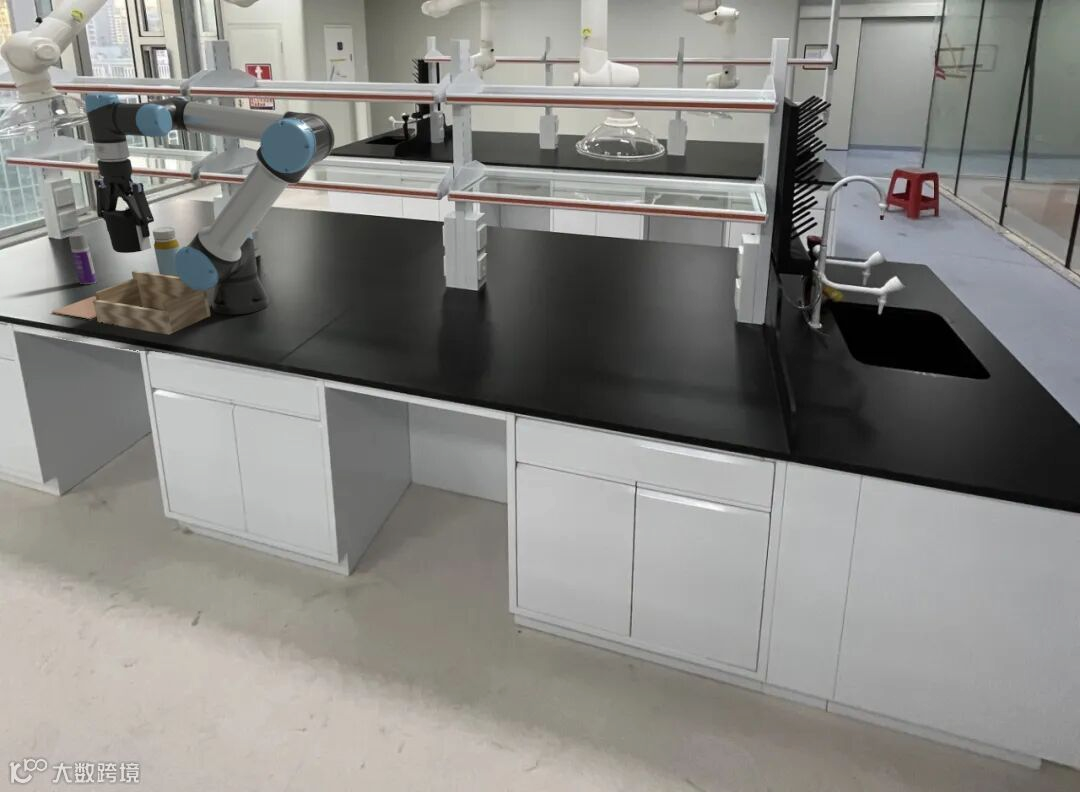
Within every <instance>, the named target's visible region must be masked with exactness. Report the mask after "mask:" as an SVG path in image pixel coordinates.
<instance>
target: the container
mask: <svg viewBox="0 0 1080 792" xmlns="http://www.w3.org/2000/svg"><path fill="white" fill-rule="evenodd" d="M68 239H69V245H70V248H71V255H72V258H73V262H74V265H75V268H76V273H77V278H78V280H79V284H80V285H81V284H85V285H84V286H87V285H86V284H91V285H94V284H93V283H95V284H96V282H97V283H98V279H97V275H96V272H95V267H94V264H93V259H92V253H91V251H90V247H89V243H88V239H87V236H86V233H85V232H73V233H69V234H68Z"/></svg>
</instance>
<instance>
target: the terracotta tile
mask: <svg viewBox="0 0 1080 792" xmlns="http://www.w3.org/2000/svg"><path fill="white" fill-rule="evenodd" d="M94 300H96V296H94V295H93V296H91V297H88V298H85V299H81V300H80V301H77V302H74V303H71V304H68V305H66V306H63V307H59V308H57V309H55V310H52V311H51V314H53V313H56V314H55V315H58V314H63V315H62V316H64V315H70V316H76V317H82V318H86V319H92V318H95V317H97V316H96V312H95V308H94V304H93V301H94ZM70 316H69V317H70ZM86 319H85V320H86ZM95 319H96V318H95ZM92 320H93V319H92Z"/></svg>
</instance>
